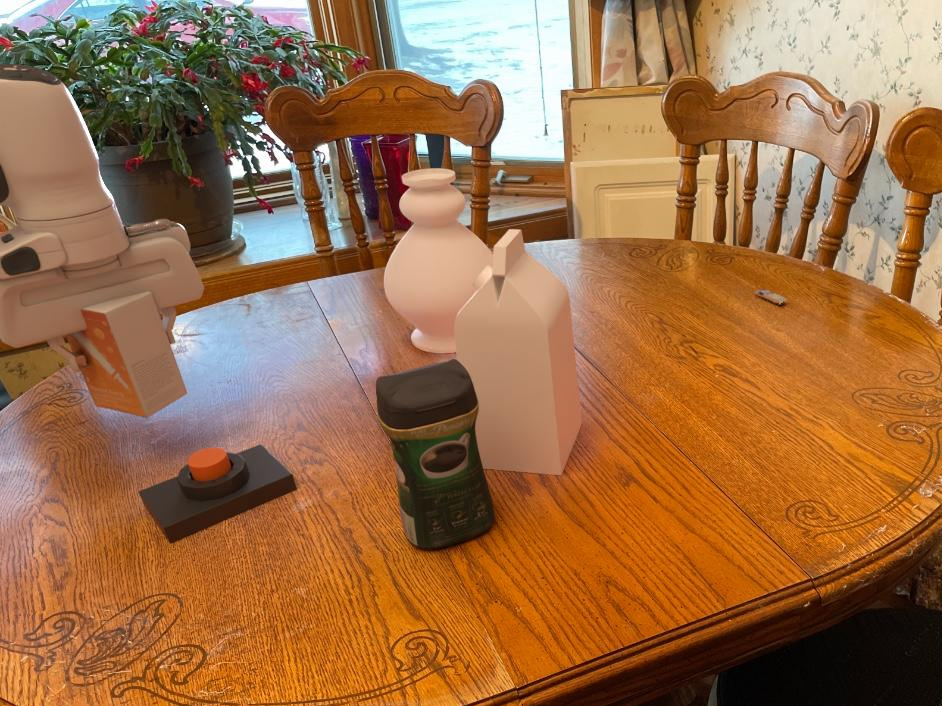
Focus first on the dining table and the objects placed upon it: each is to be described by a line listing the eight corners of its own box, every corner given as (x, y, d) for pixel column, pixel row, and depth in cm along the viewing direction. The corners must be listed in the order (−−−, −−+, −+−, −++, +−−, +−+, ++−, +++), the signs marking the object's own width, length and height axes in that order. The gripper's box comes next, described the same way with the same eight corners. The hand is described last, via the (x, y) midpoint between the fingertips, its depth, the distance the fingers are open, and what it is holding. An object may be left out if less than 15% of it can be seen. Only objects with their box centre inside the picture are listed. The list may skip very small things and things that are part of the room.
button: (200, 487, 84) (194, 471, 83) (188, 472, 87) (182, 456, 86) (237, 472, 87) (231, 457, 85) (224, 458, 89) (218, 443, 88)
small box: (94, 408, 91) (48, 302, 83) (139, 383, 95) (100, 282, 88) (146, 419, 88) (103, 312, 81) (190, 394, 93) (153, 290, 86)
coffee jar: (479, 493, 88) (458, 344, 78) (504, 532, 82) (485, 376, 72) (394, 519, 85) (361, 366, 74) (414, 561, 79) (381, 401, 68)
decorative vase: (528, 324, 127) (515, 166, 113) (464, 370, 114) (440, 197, 100) (440, 307, 134) (418, 156, 120) (370, 348, 121) (336, 184, 107)
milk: (561, 475, 91) (547, 259, 76) (467, 467, 93) (436, 255, 78) (582, 422, 101) (572, 222, 86) (496, 416, 102) (473, 219, 88)
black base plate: (170, 544, 82) (157, 514, 80) (144, 506, 88) (132, 477, 85) (297, 489, 90) (288, 460, 88) (266, 458, 95) (257, 430, 93)
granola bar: (789, 304, 131) (790, 298, 130) (779, 307, 130) (780, 301, 129) (762, 292, 136) (762, 286, 135) (752, 295, 135) (752, 289, 134)
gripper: (171, 209, 89) (208, 321, 96) (-43, 253, 77) (17, 376, 85) (190, 220, 85) (227, 336, 92) (-33, 268, 73) (29, 396, 81)
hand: (125, 356), depth 89 cm, fingers closed on small box, 8 cm apart
